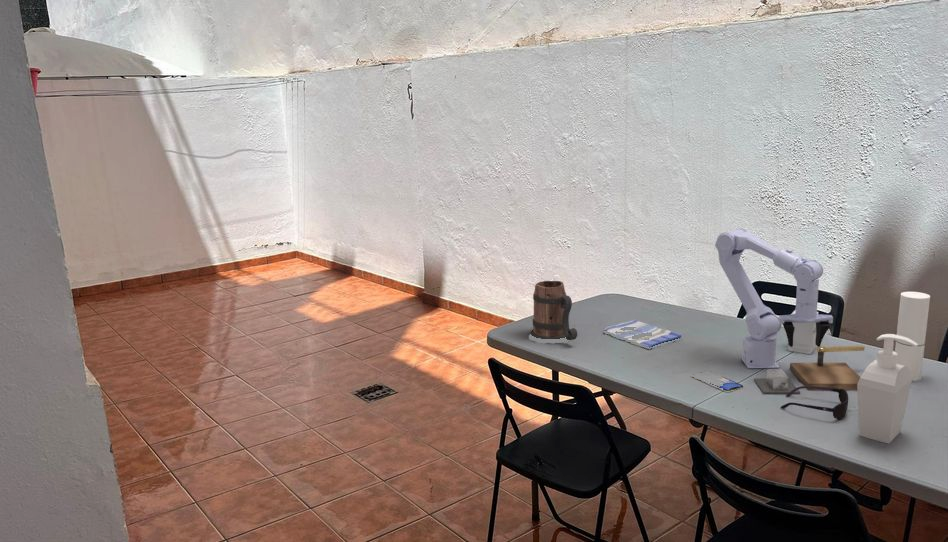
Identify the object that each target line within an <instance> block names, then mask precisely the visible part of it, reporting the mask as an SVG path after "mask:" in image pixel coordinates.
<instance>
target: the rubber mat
mask: <svg viewBox="0 0 948 542" xmlns="http://www.w3.org/2000/svg"><path fill="white" fill-rule="evenodd" d="M753 381H754V383H755V384H756V385H757V387H758V388H759V390H760V392H761V393H762V392H763V393H762V394H763V395H787V394H788V393H789V392H791V391H792V390H793V389H795V388H797V387H798V386H796V385H795V383H793V381H792V380H791V379H790V378H789V377H788V390H773V389H772V388H771V387H770V385H769V384H768V383H767V377H766V378H756V377H755V378H754V377H753ZM792 395H801V391H800V389H798V390H796V391H795V392H794V393H793V394H792Z"/></svg>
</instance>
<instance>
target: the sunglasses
mask: <svg viewBox="0 0 948 542" xmlns="http://www.w3.org/2000/svg"><path fill="white" fill-rule="evenodd" d="M796 387H797V388H795V389H793V390H792V391H791V392H789V393H788V394H785V397H786V398H790V396H792V395H794V394H793V393H794V392H795V391H796V390H801V389H802V390H803V389H807V388H811V389H819V390H818V391H826V392H827V391H828V392H834V393H838V399H839V402H840V403H838V404H837V405H835V406H833V407H828V406H827V407H826V406H818V405H817V406H816V405H811V404H804V403H799V402H788V403H786V404H782V405H781V406H780V409H782V410H785V409H786V408H788V407H789V406H797V407H802V408H808V409H814V410H817V411H825V412H829V413H832V416H833V418H834V419H835V420H838V421H841V420H842V419H844V418H845V417H846V416H847V411H848V405H849V394H848V390H844V389H837V388H829V387H818V386H804V385H801V386H796Z"/></svg>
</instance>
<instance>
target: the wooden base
mask: <svg viewBox="0 0 948 542" xmlns="http://www.w3.org/2000/svg"><path fill="white" fill-rule="evenodd" d="M824 356H825V352H824V353H820V352H817V362H790V364H789V369H790V371H791V372H792V373H793V374H794V376H795V377H796V378H797V379H798V380H799V382H800V383H801V384H802V386H818V387H829V388H837V389H844V390H846V391H857V384H858V382H859V380H860V377H861V376H860V375H859V374H858V373H857V372H856V371H855V370H854V369H853V368H852V367H850V366H849V364H847V363H846V362H824ZM806 390H807V391H820V390H819V389H811V388H806Z"/></svg>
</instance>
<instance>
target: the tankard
mask: <svg viewBox="0 0 948 542" xmlns="http://www.w3.org/2000/svg"><path fill="white" fill-rule="evenodd" d="M533 291H534V292H533V295H532V299H533V317H532V327H533V328H532V329H531V330H530V333H529V334H531V335H532V336H534V337H536V338H541V339H560V338H565V337H566V339H567V340H570V341H572V340H576V339H577V337H578V331H577V329H576V328H574V327H572V328H570V323H569V322H570V321H569V320H570V313H571V310H572V306H573V301H572V299H571V297H570V295H567V293H566V289H565V284H564V282H563V281H561V280H542V281H539V282H536V283H535V286H534V290H533Z"/></svg>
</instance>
